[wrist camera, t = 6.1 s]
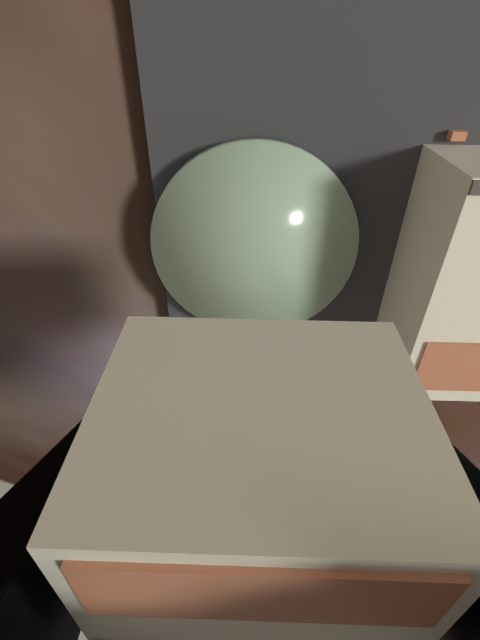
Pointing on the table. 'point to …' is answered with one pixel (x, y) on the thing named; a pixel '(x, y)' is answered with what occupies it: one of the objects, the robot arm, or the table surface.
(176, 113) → the mat
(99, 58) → the table surface
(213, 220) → the coaster
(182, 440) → the cream block
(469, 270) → the cream labeled box
